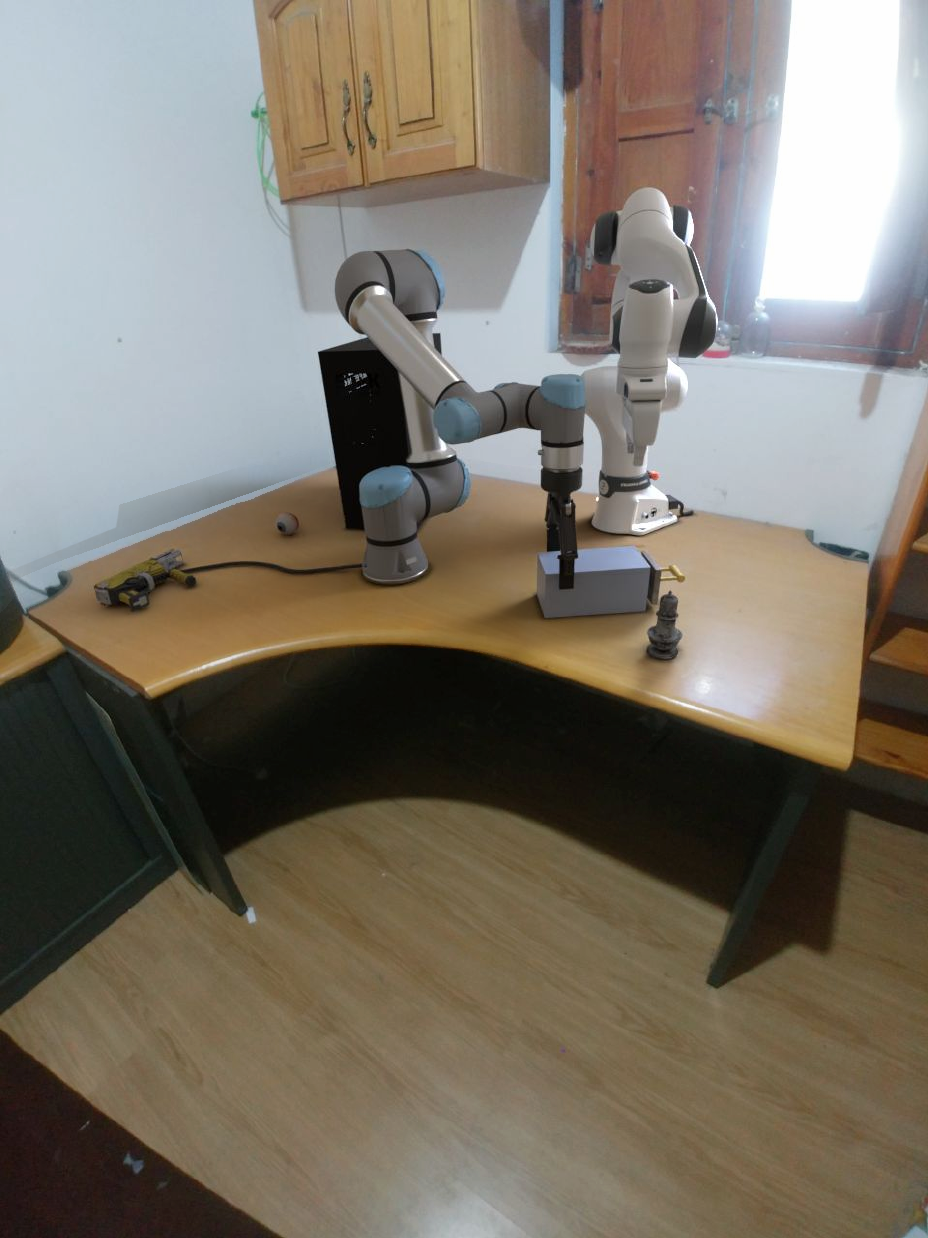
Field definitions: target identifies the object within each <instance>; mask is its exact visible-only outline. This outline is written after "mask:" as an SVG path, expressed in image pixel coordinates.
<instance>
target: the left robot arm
mask: <svg viewBox="0 0 928 1238" xmlns="http://www.w3.org/2000/svg"><path fill="white" fill-rule="evenodd" d="M334 280H335V281H334V298H335V302H336V305H337V308H338V310H339V312H340V314H341V316H342V317H343V319H344V320H345V322H346V323H347V324H348V325H349V326H350V327H351V328H352V330H353V331H354V332H355V333H357V334H359V335H364V336H365V337H368V338H369V339H370V340H371V341H372V342H373V344H374V345H375V346H376V347H377V348H378V349H379V350H380V351H381V352H382V354H383V355H384V356H385V357H386V358H387V359H388V360H389V361H390V362H391V364H392V365H393V366H394V367H395V368H396V369H397V370H398V375H399V381H400V387H401V393H402V399H403V405H404V411H405V417H406V423H407V429H408V435H409V440H410V446H411V453H410V454H409V456H408V457H407V459H406V463H407V467H404V466H390V467H383V468H379V469H376V470H374V471H372V472H370V473H368V474H367V475H365V476H364V477H363V478H362V480H361V482H360V485H359V490H360V503H361V507H362V514H363V520H364V527H365V529H364V534H365V540H366V545H365V551H364V555H363V561H362V563H356V564H355V563H354V564H343V565H337V566H328V567H327V566H326V567H319V568H308V569H297V568H296V569H295V568H288V567H285V566H282V565H279V564H276V563H271V562H264V561H255V560H240V561H239V560H238V561H227V562H220V563H213V564H207V565H202V566H201V565H200V566H196V567H195V566H194V567H190V568H189V567H188V568H184V569H178V571H181V572H183V573H185V574H188V573H193V572H199V571H204V570H205V571H206V570H211V569H217V568H224V567H231V566H260V567H268V568H272V569H273V568H274V569H276V570H279V571H282V572H285V573H289V574H297V575H298V574H299V575H300V574H302V575H303V574H314V573H323V572H333V571H343V570H351V569H362V574H363V575H362V576H363V578H364V579H365V580H366V581H368V582H370V583H373V584H376V585H381V586H399V585H404V584H409V583H412V582H415V581H417V580H419V579H421V578H422V577H424V576H425V575H426V574H427V573H428V571H429V560H428V558H427V555H426V554H425V551H424V549H423V547H422V544H421V542H420V540H419V538H418V537H419V536H418V529H417V526H416V523H417V522H419V521H422V520H424V521H425V520H428V519H430V518H433V517H436V516H439V515H442V514H447V513H450V512H452V511H454V510H455V509H458V508H460V507H462V506H463V505H464V504H465V503H466V501H467V500H468V498H469V496H470V493H471V487H472V485H471V484H472V481H471V474H470V471H469V468H468V467H466V464H465V462H464V461H463V460H462V459H460V458H458V455H457V451H456V450H454V449H453V448H452V447H450V445H451V446H452V445H453V446H454V445H461V444H468V443H473V442H474V441H476V440H480V439H484V438H488V437H491V436H494V435H495V436H496V435H499V434H503V433H506V432H510V431H514V430H517V429H528V430H532V431H533V430H534V431H540V444H541V445H540V447H541V449H538V450H537V455H538V456H540V465H541V467H542V468H541V469H540V488H541V489H542V491H545V492H547V496H546V506H545V515H544V522H545V523H546V524H545V526H546V552H552V551H561V555H558V556H557V559H559V590H563V589H574V567H575V559H578V550H579V549H578V537H577V522H576V508H577V505H576V502H574V499H573V498H571V494H572V493H573V492H577V491H579V490H580V489H581V488H582V486H583V468H582V467H581V466H583V465H584V449H585V442H584V438H585V437H584V427H585V415H586V414H585V405H586V399H585V381H584V379H583V378H582V377H581V375H580V374H575V373H574V374H573V373H568V374H565V373H555V374H551V375H546V376H544V377H543V378H542V379H541V382H540V385H536V384H526V383H519V382H515V381H512V382H501V383H498V384H496V385H495V386H494V388H492V389H490V390H485V391H479V392H477V391H476V390H475V389H474V388H473V387H472V386H471V385H470V384H469V383H468V382H467V380H466V379H464V377H462V375H460V373H459V372H458V371H457V370H456V369H455V367H453V366H452V365H451V364H450V362H448V360H446V358H445V357H444V356H443V354H442V355H441V354H440V353H439V352H438V351H437V350H436V349H435V348H434V341H433V334H432V333H433V328H434V327H435V326H436V324H437V322H438V321H439V320H438V319H439V318H438V311H439V310H440V309H441V308H442V307H443V304H444V299H445V297H446V282H445V277H444V274H443V271H442V269H441V266H440V265H439V263H438V262H437V261H436V259H435V258H433V257H432V255H431V254H430V253H429V252H427V251H424V250H421V249H420V250H418V249H410V248H405V249H387V250H361V251H358V252H356V253H355V252H354V253H353V254H351V255H350V256H349V257H347V258H346V259H345V260H344V261H343V262H342V263H341V265H340V267H339V269H338V271H337V273H336V277H335V279H334Z"/></svg>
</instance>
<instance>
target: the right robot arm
mask: <svg viewBox="0 0 928 1238" xmlns="http://www.w3.org/2000/svg"><path fill="white" fill-rule="evenodd" d="M693 235H694V222H693V218H692V212H691V211H690V209H689V208H688V207H686V206H683V205H682V206H681V205H675V204H673V206H670V205H669V202H668V200H667V197H666V196H665V194H664V193H663V192H662V191H661V190H659V189H657V188H656V187H651V186H650V187H649V186H648V187H642V188H640V189H637V190H636V191H634V192H633V193H632V194H631V195H629V197H628V198H627V199H626V201H625V203H624V205H623V208H622V209H621V210H609V211H607V212H603V213H601V214H600V215H599V216H598V217H597V218H596V219H595V222H594V225H593V227H592V229H591V233H590V239H589V244H590V245H589V246H590V251H591V253H592V256H593V260H594V261H595V262H596V264H598V265H601V266H606V267H610V266H611V265H614V266H619V267H620V269H619V270H618V272H617V274H616V277H615V282H614V286H613V291H612V296H611V303H610V305H611V306H610V318H609V319H610V321H609V338H608V339H609V344H610V347H611V348H612V349H613V350H614V352H616V353H617V354H618V355H619V357H618V361H617V363H616V364H617V365H614V366H612V365H609V366H608V365H607V366H606V365H605V366H604V365H603V366H600V367H594V368H591V369H587V370H585V371H583V372H582V373H581V374H580V376H581V377H582V378H583V379H584V381H585V399H586V405H585V415H586V416H587V417H588V418H589V419H590V420H591V421H592V422H593V424H594V425H595V427H596V429H597V431H598V434H599V436H600V437H599V438H600V443H601V468H600V470H599V474H598V492H599V493H598V496H597V497H596V498H595V501H597V502H596V507H595V511H594V514H593V517H592V520H591V525H592V526H593V527H594V528H595V529H597V530H599V531H601V532H605V533H611V534H623V535H625V534H626V535H632V536H633V535H634V536H645V535H646V534H650V533H652V532H654V531H657V530H660V529H662V528H665V527H668V526H670V525H672V524H675V523H677V522H678V516H677V515H676V514H675V513H674V512H672V511H670V510H677V509H679V511H678V513H679V515H680V516H682V517H687V516H690V515H694V510H693V509H691V510H688V511H686V512H684V508H685V504H684V503H683V502H682V501H680V500H679V499H677V498H676V497H674V496H673V495H671V494H664V493H663V492H661V491H660V490H659V489H658V488H656V487H655V486H654V485H652V483H651V480H653V481H658V479H659V478H660V473H659V472H657V471H654V470H651V471H649V470H648V469H647V466H648V458H649V457H648V456H649V447H651V446H653V445H654V444H655V442H656V440H657V435H658V431H659V425H660V418H661V415H662V414H667V413H670V412H671V413H673V412H675V411H677V410H679V409H680V407H681V406H682V405H683V403H684V402H685V401H686V398H687V395H688V390H689V383H688V378H687V375H686V374H685V372H684V370H683V369H681V367H679V366H678V365H676V364H675V363H674V362H672V361H671V359H670V358H675V357H677V358H684V359H697V358H698V357H700V356H701V355H702V354H703V353H705V352H706V351H707V350H709V348H710V347H711V346H713V344H714V342H715V339H716V335H717V331H718V314H717V309H716V307H715V304H714V303H713V301H712V299H711V298H710V297H709V293H708V291H707V288H706V285H705V282H704V279H703V278H704V277H703V275H702V272H701V270H700V268H701V267H700V265H699V261H698V259H697V257H696V255H695V252H694V249H693V247H691V246H690V245H691V242H692V240H693ZM674 290H675V291H676V293H677V296H678V298H677V299H674Z"/></svg>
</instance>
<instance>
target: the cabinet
mask: <svg viewBox="0 0 928 1238" xmlns="http://www.w3.org/2000/svg"><path fill="white" fill-rule="evenodd" d="M577 550H578V559H575V567H574V589H563V590H559V559H557V556H558V555H561V551H552V552H547V551H539V552H537V553H536V558H537V559H536V597H537V598H538V602H539V605H540V608H541V611H542V613H543V614H542V615H543V617H544V619H551V618H552V619H554V618H555V619H556V618H568V617H581V616H582V617H583V616H594V615H595V616H597V615H612V614H624V613H625V614H626V613H640V612H646V609H647V601H648V599H647V594H648V585H649V576H650V566H649V565H648V563H647V562H646V561H645V559H644V558H643V557H642V555H641V552H640V551H639V550H638V549H637V548H636V546H635V545H625V546H613V547H599V548H598V547H597V548H585V549H583V548H582V549H577Z"/></svg>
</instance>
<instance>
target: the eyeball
mask: <svg viewBox="0 0 928 1238" xmlns="http://www.w3.org/2000/svg"><path fill="white" fill-rule="evenodd" d="M299 525H300V522H299V519H298V517H297V516H296V515H295V514H294V513H292V512H287V511H286V512H282V513H280V514H279V515H278V516H277V517H276V520H275V527H276V529H277V530H278V531H279V532H280V533H281V534H282V535H285V536H286V535H287V536H289V535H293V534H295V533H296V532H297V531H298V529H299Z"/></svg>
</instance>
